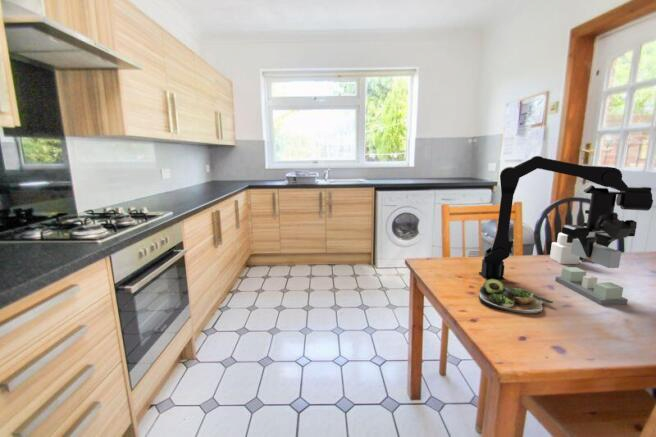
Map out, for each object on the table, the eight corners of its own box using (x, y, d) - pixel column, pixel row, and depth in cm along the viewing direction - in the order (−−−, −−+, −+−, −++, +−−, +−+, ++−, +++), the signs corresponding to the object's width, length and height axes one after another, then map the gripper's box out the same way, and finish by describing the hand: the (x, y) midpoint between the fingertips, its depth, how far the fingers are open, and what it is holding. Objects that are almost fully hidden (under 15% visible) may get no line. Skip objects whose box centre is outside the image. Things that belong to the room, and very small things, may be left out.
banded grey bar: (608, 268, 91) (611, 251, 90) (570, 253, 105) (573, 238, 104) (618, 267, 91) (621, 251, 90) (579, 252, 105) (581, 238, 104)
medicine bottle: (567, 258, 131) (571, 231, 129) (578, 264, 124) (583, 235, 122) (549, 258, 132) (553, 231, 129) (559, 264, 125) (564, 235, 122)
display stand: (600, 304, 91) (603, 289, 90) (555, 280, 109) (557, 267, 108) (626, 304, 91) (629, 288, 90) (577, 280, 109) (579, 266, 108)
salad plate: (549, 296, 98) (550, 283, 97) (556, 323, 83) (558, 307, 82) (481, 285, 107) (482, 272, 106) (476, 307, 92) (478, 292, 91)
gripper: (594, 213, 86) (585, 266, 90) (659, 212, 87) (648, 265, 90) (563, 207, 97) (557, 254, 101) (621, 206, 98) (613, 253, 101)
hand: (593, 256), depth 98 cm, fingers closed on banded grey bar, 3 cm apart
